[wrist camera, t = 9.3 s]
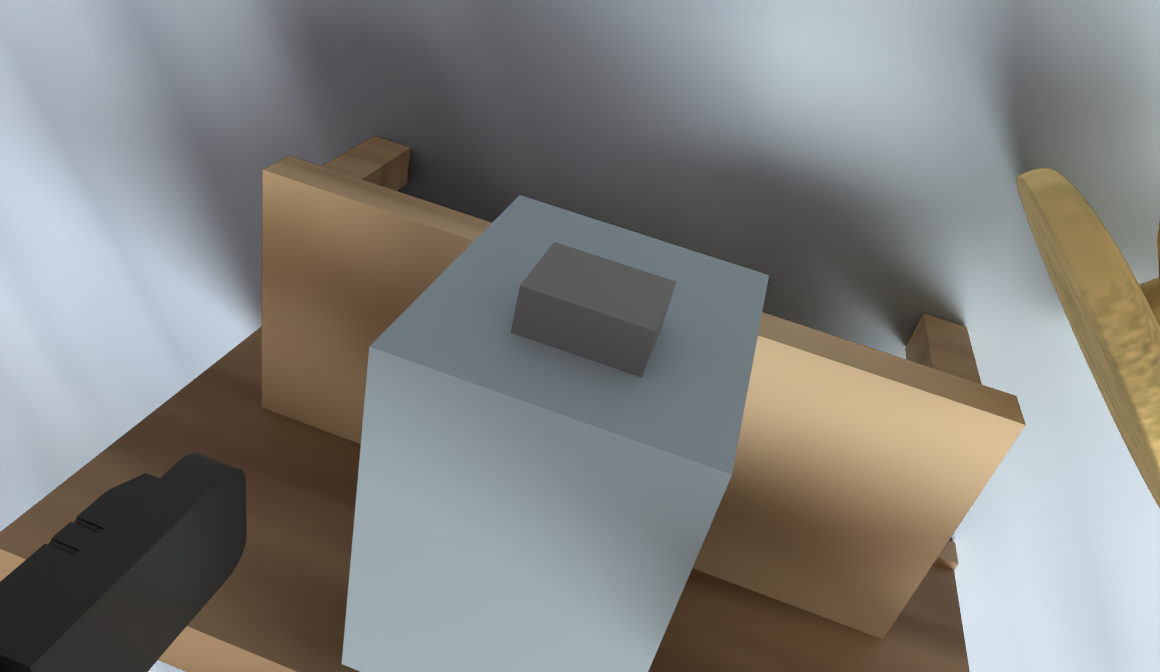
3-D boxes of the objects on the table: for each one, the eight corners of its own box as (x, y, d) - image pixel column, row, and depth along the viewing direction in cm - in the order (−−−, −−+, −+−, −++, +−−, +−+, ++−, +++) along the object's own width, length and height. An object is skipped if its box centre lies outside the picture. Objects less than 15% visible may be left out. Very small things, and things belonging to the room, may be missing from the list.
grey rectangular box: (526, 156, 15) (373, 295, 10) (784, 237, 15) (752, 426, 10) (469, 460, 20) (341, 664, 15) (669, 533, 19) (605, 772, 14)
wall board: (285, 97, 21) (-90, 252, 12) (1081, 353, 18) (1278, 758, 10) (279, 431, 27) (24, 685, 18) (877, 656, 24) (895, 1065, 16)
